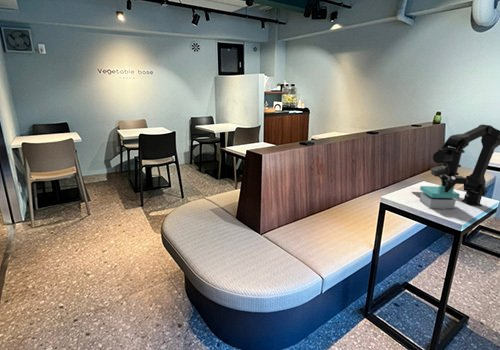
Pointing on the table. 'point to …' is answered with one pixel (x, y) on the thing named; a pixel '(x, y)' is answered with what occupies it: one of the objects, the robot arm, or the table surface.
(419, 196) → the mat
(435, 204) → the tub
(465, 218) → the table surface
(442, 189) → the lid
